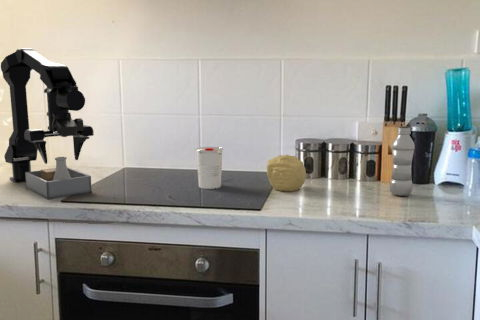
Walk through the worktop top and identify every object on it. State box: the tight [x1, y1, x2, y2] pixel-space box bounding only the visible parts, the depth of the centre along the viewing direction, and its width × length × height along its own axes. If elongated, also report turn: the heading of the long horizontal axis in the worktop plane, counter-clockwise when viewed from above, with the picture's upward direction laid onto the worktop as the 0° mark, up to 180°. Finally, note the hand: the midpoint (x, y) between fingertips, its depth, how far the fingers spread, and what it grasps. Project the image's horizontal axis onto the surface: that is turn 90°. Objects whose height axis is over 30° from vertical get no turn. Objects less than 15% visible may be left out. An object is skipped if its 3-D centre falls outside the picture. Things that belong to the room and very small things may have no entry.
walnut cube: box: [40, 167, 56, 181], centre depth 164 cm, size 5×5×5 cm
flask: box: [53, 156, 71, 181], centre depth 158 cm, size 7×7×10 cm
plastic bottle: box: [389, 126, 415, 197], centre depth 153 cm, size 6×7×20 cm
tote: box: [25, 166, 93, 200], centre depth 161 cm, size 18×13×5 cm
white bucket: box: [195, 146, 224, 190], centre depth 165 cm, size 10×8×12 cm
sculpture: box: [266, 154, 307, 192], centre depth 162 cm, size 12×12×11 cm
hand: (61, 161), depth 157 cm, fingers open, 9 cm apart
